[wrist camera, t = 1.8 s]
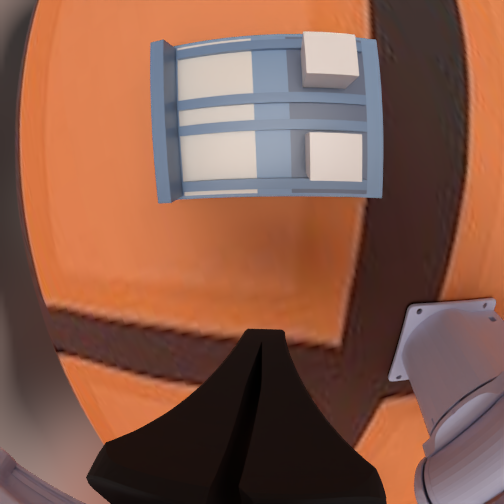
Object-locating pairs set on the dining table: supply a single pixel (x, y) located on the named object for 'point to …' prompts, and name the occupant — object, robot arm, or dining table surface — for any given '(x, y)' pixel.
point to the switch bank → (255, 119)
